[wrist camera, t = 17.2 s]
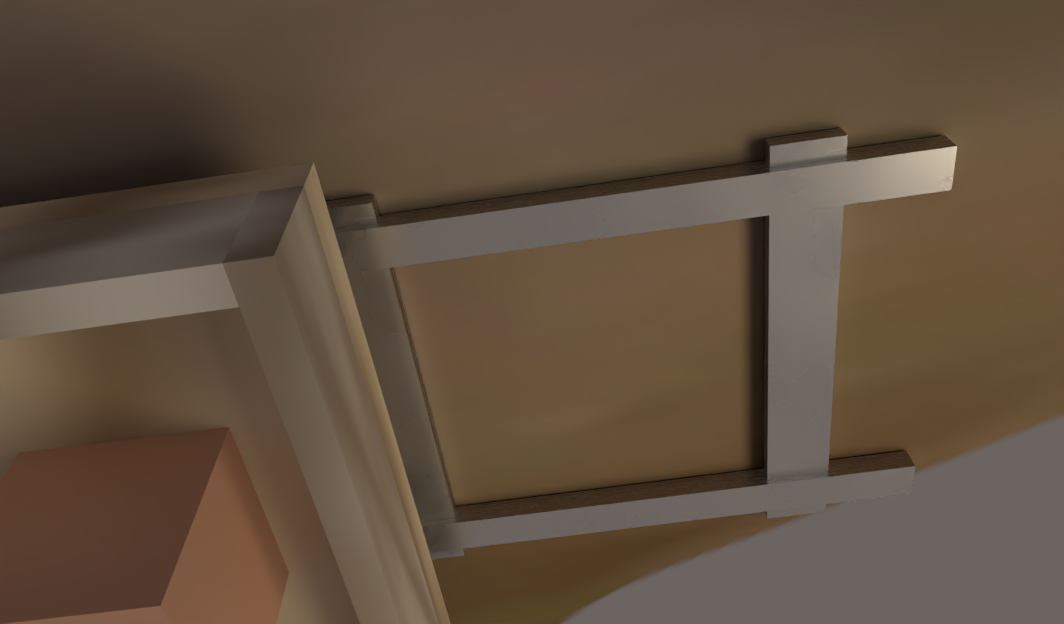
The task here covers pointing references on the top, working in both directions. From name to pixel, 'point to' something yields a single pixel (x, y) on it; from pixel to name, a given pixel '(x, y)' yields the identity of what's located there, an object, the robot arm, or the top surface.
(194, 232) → the beige open rectangular box
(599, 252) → the top surface
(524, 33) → the top surface
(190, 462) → the block
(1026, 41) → the top surface
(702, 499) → the framed panel
